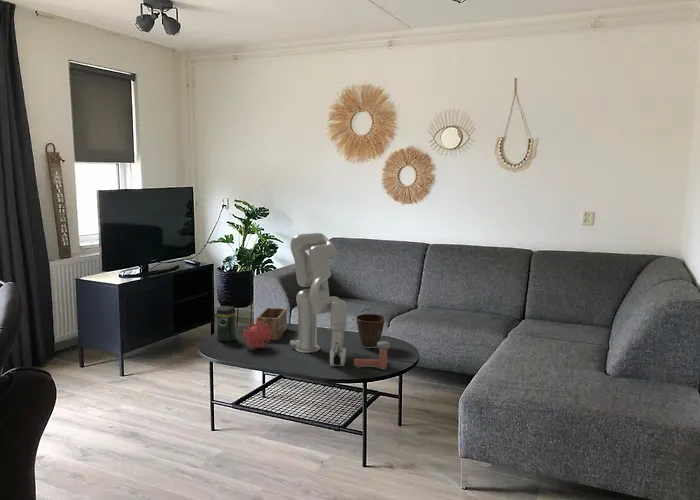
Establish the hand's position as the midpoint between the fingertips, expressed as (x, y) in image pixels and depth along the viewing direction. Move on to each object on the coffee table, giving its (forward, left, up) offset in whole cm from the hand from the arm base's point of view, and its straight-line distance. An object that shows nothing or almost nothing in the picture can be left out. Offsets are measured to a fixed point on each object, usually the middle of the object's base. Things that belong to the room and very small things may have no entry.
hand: (337, 361), depth 273 cm
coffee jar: (-64, +30, -2) cm, 71 cm away
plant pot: (+14, +28, -2) cm, 31 cm away
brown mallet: (+16, -2, -1) cm, 17 cm away
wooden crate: (-42, +44, -1) cm, 61 cm away
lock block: (0, 0, -1) cm, 1 cm away
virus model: (-44, +18, -2) cm, 48 cm away
